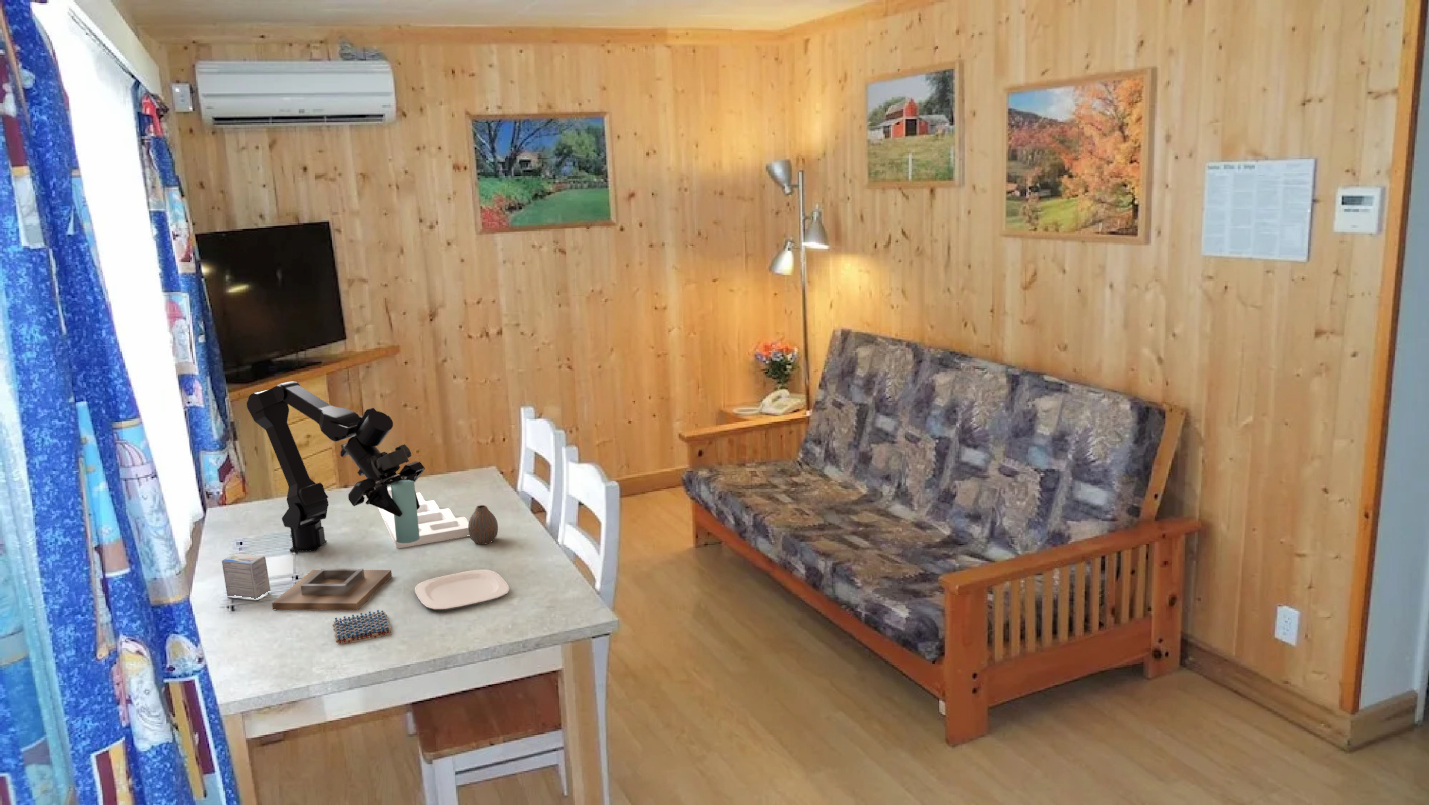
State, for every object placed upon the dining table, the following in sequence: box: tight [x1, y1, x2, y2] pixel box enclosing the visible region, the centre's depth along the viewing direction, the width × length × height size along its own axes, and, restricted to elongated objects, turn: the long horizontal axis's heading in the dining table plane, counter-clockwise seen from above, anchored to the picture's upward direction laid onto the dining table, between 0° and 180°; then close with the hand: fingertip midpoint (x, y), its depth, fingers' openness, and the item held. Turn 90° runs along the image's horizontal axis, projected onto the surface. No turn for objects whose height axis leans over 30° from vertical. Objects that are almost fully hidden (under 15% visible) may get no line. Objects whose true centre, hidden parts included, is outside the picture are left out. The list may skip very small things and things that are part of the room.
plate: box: [414, 569, 511, 611], centre depth 221 cm, size 18×18×2 cm
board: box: [271, 568, 393, 611], centre depth 224 cm, size 18×18×4 cm
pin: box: [390, 480, 420, 543], centre depth 233 cm, size 5×5×13 cm
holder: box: [377, 486, 469, 549], centre depth 273 cm, size 45×18×3 cm, turn 24°
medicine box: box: [221, 553, 272, 599], centre depth 223 cm, size 8×4×9 cm, turn 71°
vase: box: [468, 504, 499, 545], centre depth 251 cm, size 7×7×9 cm
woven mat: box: [332, 609, 393, 646], centre depth 205 cm, size 10×11×2 cm
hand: (409, 511), depth 233 cm, fingers closed on pin, 5 cm apart
